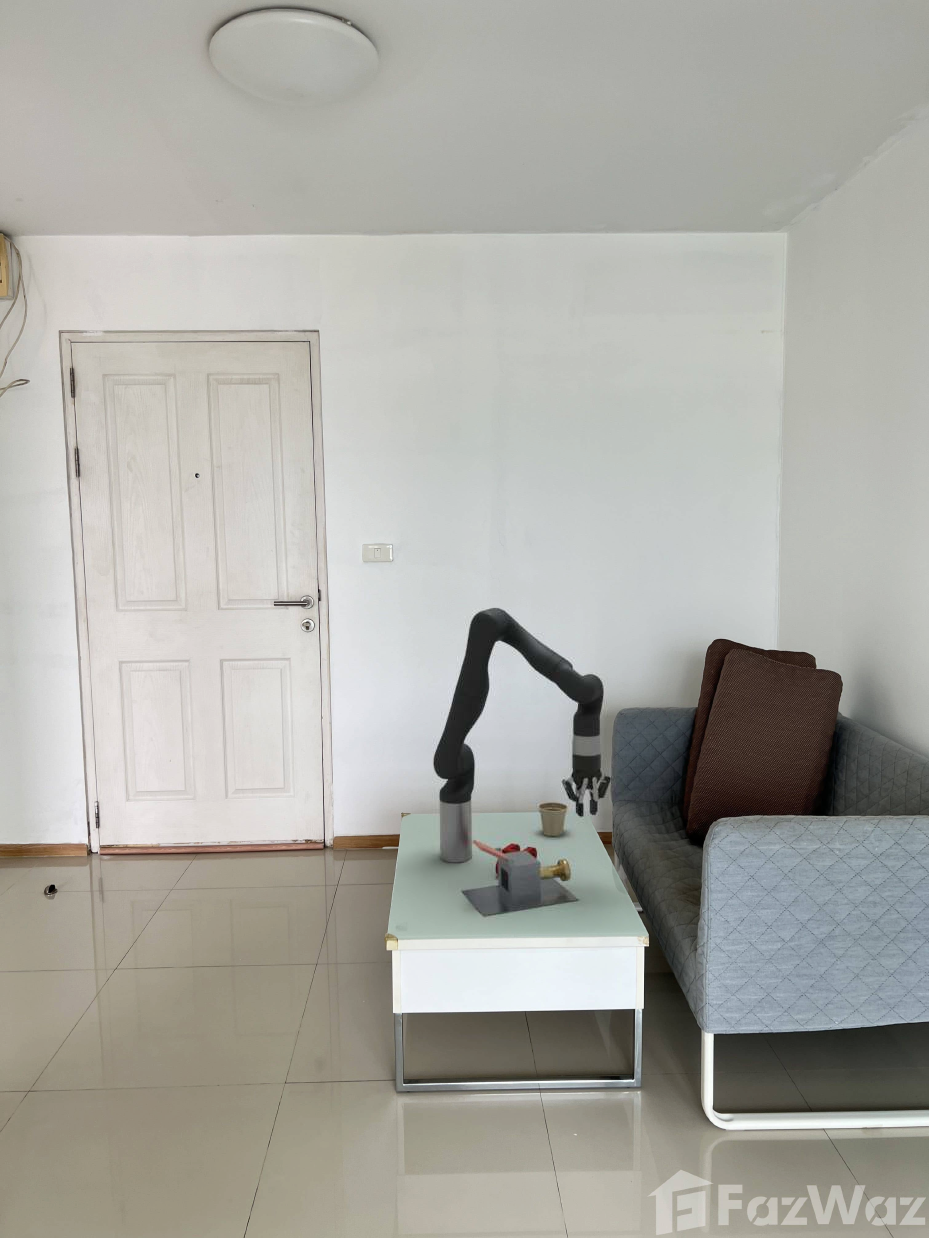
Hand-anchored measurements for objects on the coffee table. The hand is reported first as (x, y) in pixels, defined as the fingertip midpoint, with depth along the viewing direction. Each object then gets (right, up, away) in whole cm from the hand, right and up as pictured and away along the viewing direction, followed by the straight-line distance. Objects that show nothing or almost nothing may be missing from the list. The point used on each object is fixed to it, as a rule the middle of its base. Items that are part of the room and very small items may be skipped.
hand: (586, 814), depth 229 cm
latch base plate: (-18, -20, -5) cm, 27 cm away
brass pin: (-12, -17, -3) cm, 22 cm away
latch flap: (-25, -8, -9) cm, 28 cm away
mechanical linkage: (-19, -19, +14) cm, 30 cm away
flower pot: (-4, -16, +42) cm, 45 cm away
